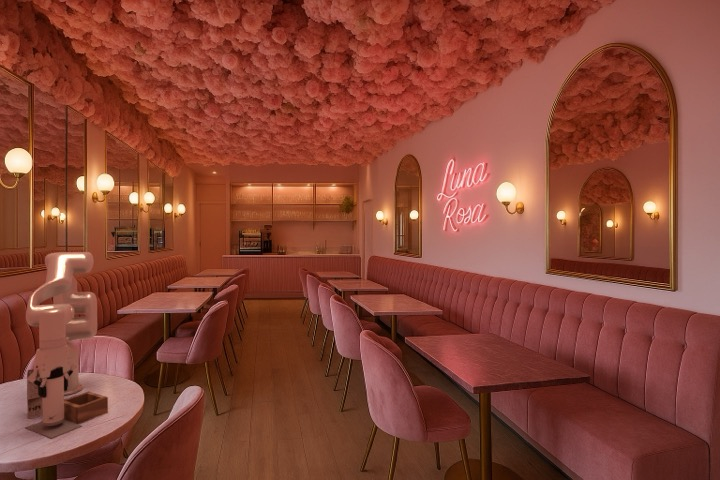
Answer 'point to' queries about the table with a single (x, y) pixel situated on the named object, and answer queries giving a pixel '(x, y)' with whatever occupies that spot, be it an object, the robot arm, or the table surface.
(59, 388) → the travel mug
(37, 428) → the rubber mat
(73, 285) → the robot arm
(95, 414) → the frame
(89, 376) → the table surface
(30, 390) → the coffee box
